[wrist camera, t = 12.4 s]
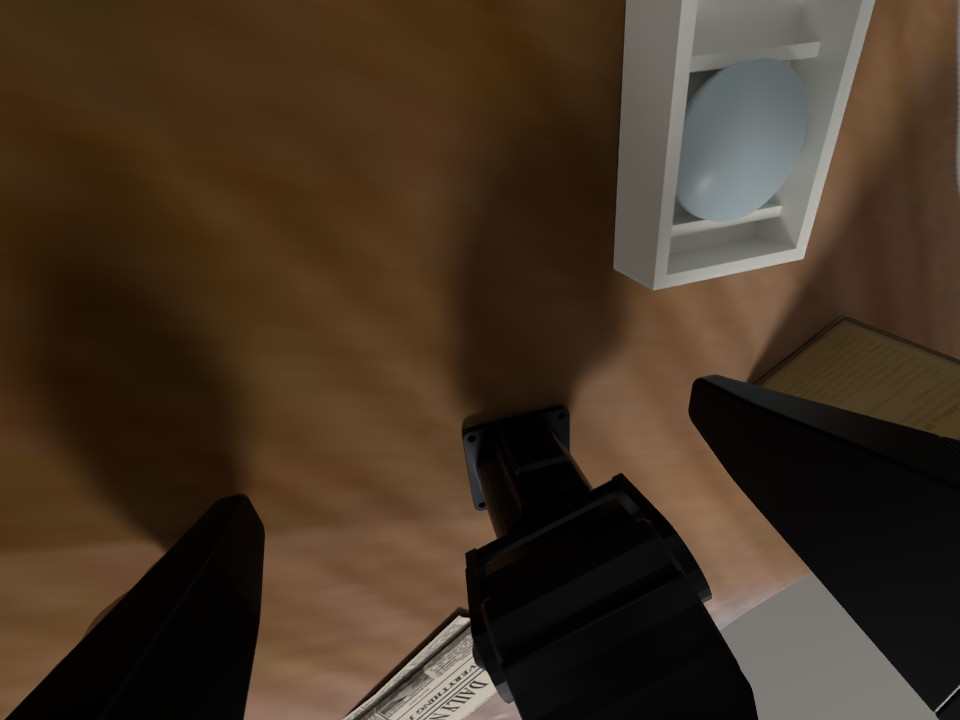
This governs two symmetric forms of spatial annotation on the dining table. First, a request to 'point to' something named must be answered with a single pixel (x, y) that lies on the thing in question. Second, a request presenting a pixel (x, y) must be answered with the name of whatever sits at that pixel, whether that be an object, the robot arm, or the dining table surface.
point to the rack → (728, 131)
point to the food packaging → (874, 377)
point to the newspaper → (433, 683)
